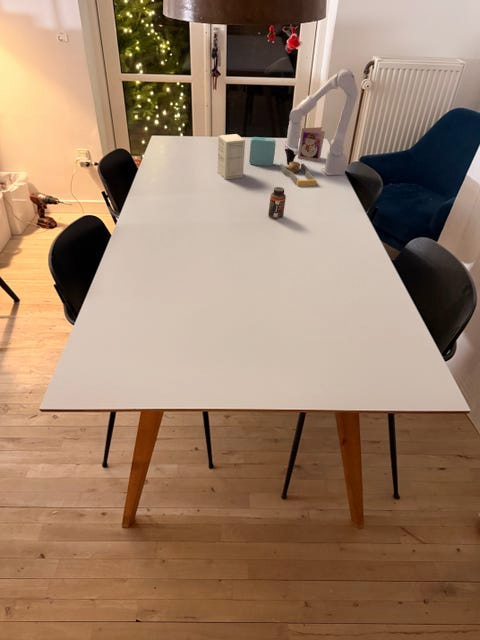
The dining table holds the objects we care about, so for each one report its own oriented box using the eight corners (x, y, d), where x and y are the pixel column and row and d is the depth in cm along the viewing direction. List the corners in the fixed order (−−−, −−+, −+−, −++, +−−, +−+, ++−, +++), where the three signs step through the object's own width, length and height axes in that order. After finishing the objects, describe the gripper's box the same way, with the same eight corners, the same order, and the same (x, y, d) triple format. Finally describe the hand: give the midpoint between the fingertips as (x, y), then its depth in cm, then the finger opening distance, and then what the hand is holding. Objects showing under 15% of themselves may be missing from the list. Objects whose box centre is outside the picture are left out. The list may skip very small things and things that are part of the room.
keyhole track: (279, 169, 212) (280, 164, 211) (302, 168, 215) (303, 163, 214) (294, 186, 197) (294, 181, 195) (318, 185, 200) (319, 180, 198)
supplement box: (235, 170, 208) (237, 133, 197) (243, 177, 201) (246, 139, 191) (216, 172, 204) (217, 135, 194) (224, 179, 198) (226, 141, 187)
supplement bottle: (278, 221, 169) (282, 193, 162) (265, 216, 171) (268, 189, 164) (285, 216, 173) (289, 188, 166) (272, 211, 175) (275, 184, 168)
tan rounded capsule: (296, 169, 214) (297, 161, 211) (300, 173, 210) (301, 165, 207) (286, 170, 213) (287, 161, 210) (290, 174, 209) (291, 165, 206)
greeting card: (297, 159, 226) (301, 128, 216) (299, 154, 231) (303, 124, 222) (319, 162, 224) (324, 131, 215) (320, 157, 230) (325, 127, 220)
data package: (273, 163, 218) (275, 138, 211) (273, 166, 215) (275, 141, 207) (249, 161, 219) (251, 136, 211) (248, 164, 215) (250, 139, 208)
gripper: (280, 131, 211) (277, 159, 220) (290, 140, 200) (286, 170, 209) (294, 131, 213) (290, 159, 221) (304, 140, 202) (300, 169, 211)
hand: (289, 164), depth 215 cm, fingers closed
